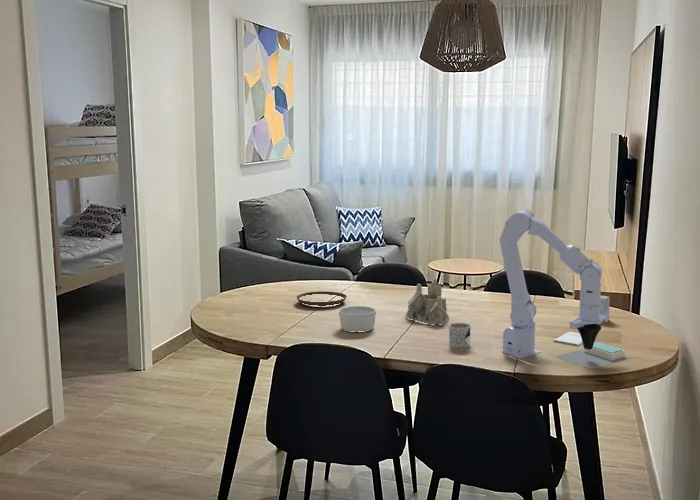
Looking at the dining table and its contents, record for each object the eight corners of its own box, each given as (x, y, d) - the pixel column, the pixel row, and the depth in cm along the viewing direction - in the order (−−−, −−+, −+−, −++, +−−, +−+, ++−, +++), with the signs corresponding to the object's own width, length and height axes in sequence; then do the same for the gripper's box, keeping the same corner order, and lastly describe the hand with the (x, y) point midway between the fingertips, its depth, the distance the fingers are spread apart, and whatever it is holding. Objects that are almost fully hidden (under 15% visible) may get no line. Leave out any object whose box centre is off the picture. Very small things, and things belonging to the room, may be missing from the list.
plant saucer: (317, 296, 295) (317, 288, 294) (356, 301, 283) (356, 294, 282) (286, 305, 278) (285, 297, 278) (326, 312, 266) (326, 304, 266)
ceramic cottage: (407, 313, 262) (408, 275, 258) (450, 316, 259) (451, 278, 255) (402, 326, 247) (403, 286, 244) (447, 330, 244) (449, 289, 241)
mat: (591, 370, 195) (591, 369, 195) (553, 357, 207) (553, 356, 206) (632, 359, 204) (632, 358, 204) (593, 347, 216) (593, 346, 216)
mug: (470, 349, 217) (470, 328, 216) (448, 348, 218) (449, 328, 217) (470, 339, 227) (470, 320, 225) (449, 339, 228) (450, 319, 227)
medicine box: (609, 320, 247) (610, 296, 246) (604, 322, 244) (605, 299, 243) (588, 316, 253) (589, 293, 251) (583, 318, 250) (583, 295, 248)
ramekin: (357, 322, 251) (357, 303, 250) (384, 328, 242) (383, 309, 241) (331, 329, 242) (330, 310, 241) (357, 336, 233) (357, 316, 232)
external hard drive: (553, 344, 222) (568, 335, 231) (578, 349, 216) (592, 339, 226) (553, 339, 221) (568, 330, 231) (578, 344, 216) (592, 334, 226)
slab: (611, 353, 202) (624, 349, 205) (584, 344, 210) (597, 341, 213) (611, 360, 202) (624, 356, 205) (584, 351, 210) (597, 348, 213)
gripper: (584, 310, 194) (582, 356, 196) (617, 303, 202) (615, 347, 204) (564, 305, 200) (563, 350, 202) (597, 298, 208) (595, 341, 210)
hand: (587, 348), depth 204 cm, fingers closed
